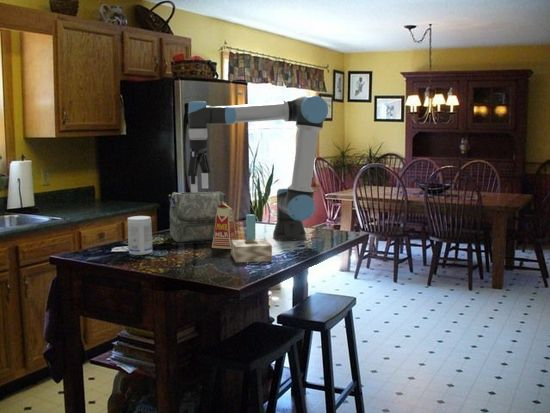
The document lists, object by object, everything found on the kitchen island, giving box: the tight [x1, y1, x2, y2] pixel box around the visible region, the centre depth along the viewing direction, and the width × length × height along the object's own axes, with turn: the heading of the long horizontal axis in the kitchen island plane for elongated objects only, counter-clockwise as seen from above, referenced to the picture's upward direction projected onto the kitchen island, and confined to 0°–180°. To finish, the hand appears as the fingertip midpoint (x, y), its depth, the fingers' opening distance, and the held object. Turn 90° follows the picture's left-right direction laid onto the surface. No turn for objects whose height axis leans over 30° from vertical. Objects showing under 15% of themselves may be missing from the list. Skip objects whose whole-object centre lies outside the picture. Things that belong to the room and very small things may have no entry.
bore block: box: [230, 238, 273, 263], centre depth 245 cm, size 14×14×6 cm
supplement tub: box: [127, 215, 153, 256], centre depth 253 cm, size 10×10×15 cm
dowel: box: [245, 214, 256, 240], centre depth 257 cm, size 4×4×15 cm
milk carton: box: [211, 201, 237, 250], centre depth 266 cm, size 9×9×20 cm
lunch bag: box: [168, 190, 226, 243], centre depth 284 cm, size 26×18×22 cm
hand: (199, 190), depth 259 cm, fingers open, 13 cm apart
